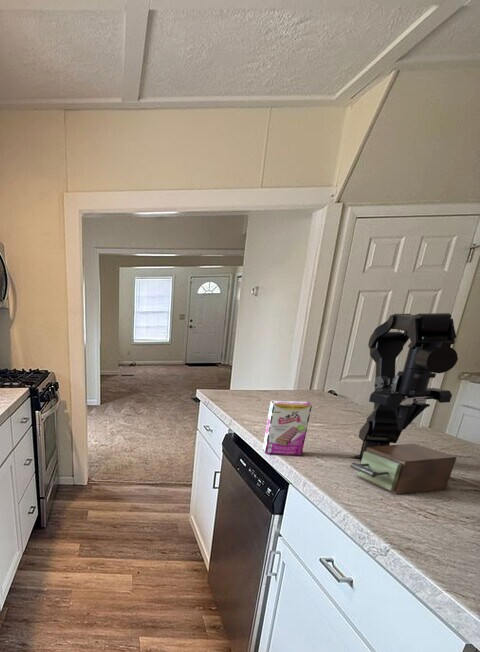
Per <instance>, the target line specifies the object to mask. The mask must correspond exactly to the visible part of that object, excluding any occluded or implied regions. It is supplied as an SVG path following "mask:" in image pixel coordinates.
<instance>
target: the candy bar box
mask: <svg viewBox="0 0 480 652" xmlns="http://www.w3.org/2000/svg"><path fill="white" fill-rule="evenodd" d="M312 407H313V405H312V404H311V402H308V401H300V400H299V401H298V400H297V401H295V400H273V399H272V400H270V403H269V410H268V414H267V421H266V427H265V433H264V438H263V443H262V444H263V445H262V450H263V452H264V454H267V455H283V456H284V455H285V456H286V455H287V456H302V455H303V451H304V450H303V449H304V446H305V441H306V437H307V431H308V426H309V421H310V416H311V412H312Z"/></svg>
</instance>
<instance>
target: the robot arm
mask: <svg viewBox="0 0 480 652" xmlns="http://www.w3.org/2000/svg"><path fill="white" fill-rule="evenodd" d="M452 316H453V315H452V314H451V313H449V312H434V313H431V312H429V313H426V312H425V313H417V314H412V313H393V314H391V315H389V317H388V318H387V320H386V321H384V322H383V323H382V324H380V325H378V326H377V327H375V329H374V330H373V332H372V334H371V336H370V337H369V340H368V348H369V356H370V358H371V359H372V360H373V361H374V362H375V378H374V379H375V381H374V385H373V387H374V390H373V392H371V393H370V395H369V400H368V402H369V403H373V410H372V411H371V412H370V414H369V415H368V416H367V417H366V422H365V423H364V424H363V425H362V426H361V428H360V429H359V431H358V439H360V440H361V441H362V444H361V449H360V452H359V454H356V455H355V456H354V458H356V459H359V460H361V461H362V457H363V453H364V451H366V449H367V447H375V446H388V445H391V444H397V442H398V441H399V438H400V436H401V434H402V432H403V431H404V430H406V428H407V427H408V426H410V424H411V423H412V422H413V421H414V420H415V419H416V418H417V417H418V416H419V415H420V414H421V413H422V412H423V411H425V410H426V409H427V408H429V407H430V406H431V404H430V403H426V402H427V400H435V401H438V403H441V404H444V403H445V404H446V403H450V402H451V400H452V396H453V394H452V393H451V391H450V390H448V389H442V388H436V387H429V384H430V380H431V379H435V378H436V375H437V374H444V373H447V372H448V371H451V370H452V369H453V368H454V367H455V366H456V365H457V362H458V359H459V357H458V353H457V351H456V349H454V348H453V347H452V345H454V344H455V342H456V338H457V334H456V333H457V332H456V328H455V324H454V319H453V318H452ZM391 330H397V331H391ZM402 331H403V332H402ZM409 340H410V342H409V344H407V342H408V341H409ZM406 344H407V348H408V351H407V355H406V358H405V362H404V366H403V370H400V371H399V370H398V372H397V373H396V365H397V358H398V356H399V355H400V354H401V353H402V351H403V350H404V346H405V345H406Z"/></svg>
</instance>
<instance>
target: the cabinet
mask: <svg viewBox="0 0 480 652" xmlns="http://www.w3.org/2000/svg"><path fill="white" fill-rule="evenodd" d="M366 451H369V452H372V453H376V454H379V455H381V456H384V457H386V458H389V459H392V460H394V461H397V462H400V463H402V467H401V470H400V473H399V477H398V480H397V484H396V487H395V490H389V489H387V488H384V487H382V486H380V485H378V484H376V483H374V482H371V481H369V480H367V479H365V478H363V477H361V476H359V478H360V479H362V480H364V481H366V482H369V483H371V484H373V485H376V486H377V487H379V488H381V489H384V490H386V491H388V492H390V493H393V494H394V495H401V494H402V495H403V494H411V493H421V492H423V493H424V492H432V491H443V490H447V487H448V484H449V481H450V478H451V475H452V472H453V470H454V468H455V464H456V461H457V458H458V457H457V456H455V455H452V454H449V453H445V452H443V451H439V450H436V449H433V448H430V447H427V446H424V445H420V444H417V443H403V444H390V445H388V446H375V447H367V449H366Z"/></svg>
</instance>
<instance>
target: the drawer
mask: <svg viewBox="0 0 480 652" xmlns="http://www.w3.org/2000/svg"><path fill="white" fill-rule="evenodd" d="M349 466H350V468H351V469H353V470H355V471H358V472H357V475H358V476H361V477H363V478H365V479H367V480H369V481H371V482H374V483H376V484H378V485H380V486H382V487H384V488H387V489H389V490H395V487H396V484H397V480H398V477H399V473H400V470H401V467H402V463H398V462H395V461H393V460H390V459H387V458H385V457H382V456H379V454H376V453H372V452H369V451H364V453H363V457H362V460H361V461H360V463H356V462H351V463H350V465H349ZM369 481H368V482H369ZM371 482H370V483H371ZM384 488H383V489H384Z"/></svg>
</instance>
